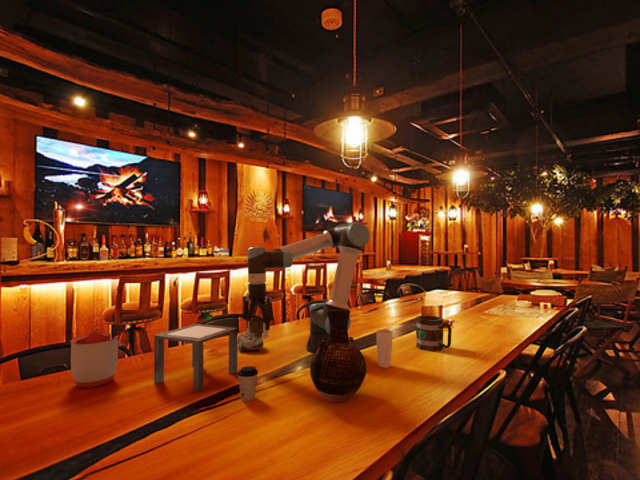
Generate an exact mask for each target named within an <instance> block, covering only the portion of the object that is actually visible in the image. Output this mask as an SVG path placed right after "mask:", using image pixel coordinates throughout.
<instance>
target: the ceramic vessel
mask: <svg viewBox="0 0 640 480" xmlns="http://www.w3.org/2000/svg"><path fill="white" fill-rule="evenodd" d="M350 315H351V310H350V309H349V310H342V311H341V310H333V311H332V310H329V311H327V316H328V319H329V324H330V338H329V339H328V340H327V341H325V340H322V342H321V344H320V348H319V349H318V350H317V351H316V353H314V354H313V357H312V359H311V362H310V366H309V373H310V378H311V381H312V384H313V385H314V387H315V389H316V391H317V392H318V394H320V396H322V397H323V398H324V399H325V400H327V401H328V402H331V403H342V402H345V401H347V400H349V399H352V398H353V396H355V394H356V393H357V392H358V390H359V389H360V388H361V386H362V385H363V383H364V380H365V378H366V374H367V363H366V359H365V356H364V355H363V353H362V351H361V350H360V348H359V347H358V346H357V345H356V344H354V341H355V340H354V337H353V336H349V332H348V331H349V329H348V328H347V326H348V320H349V318H350Z"/></svg>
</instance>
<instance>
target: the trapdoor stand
mask: <svg viewBox="0 0 640 480" xmlns="http://www.w3.org/2000/svg"><path fill="white" fill-rule="evenodd" d="M194 326H204V327H213V328H222V329H227V330H224V331H221V332H218V333H215V334H212V335H209V336H206V337H203V338H200V339H193V338H186V337H178V336H171V335H166V334H169V333H172V332H176V331H179V330H183V329H187V328H190V327H194ZM227 335H228V374H231V375H232V374H233V375H234V374H237V373H238V349H237V346H238V343H237V342H238V341H237V340H238V328H237V327H231V326H221V325H213V324H212V325H211V324H203V323H194V324H190V325H188V326H187V325H186V326H183V327H180V328H176V329H172V330H169V331H165V332H162V333H157V334H154V337H153V339H154V341H153V342H154V343H153V345H154V346H153V348H154V349H153V351H154V352H153V353H154V354H153V358H154V359H153V362H154V363H153V383H154V384H158V385H159V384H162V383H164V382H165V370H164V369H165V341H166V340H168V341H174V342H181V343H182V342H183V343H187V344H188V343H189V344H192V346H191V347H192V349H191V350H192V354H191V355H192V357H191V358H192V359H191V360H192V361H191V363H192V365H191V366H192V367H193V370H192V371H193V376H192V377H193V378H192V379H193V382H192V383H193V392H196V393H200V392H202V391H204V343H205V342H208V341H212V340H215V339H218V338H220V337H223V336H227Z"/></svg>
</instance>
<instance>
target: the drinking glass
mask: <svg viewBox="0 0 640 480" xmlns="http://www.w3.org/2000/svg"><path fill="white" fill-rule="evenodd" d="M375 337H376V350H377V363H378V364H377V365H378V367H380V368H383V369H387V368H390V367H392V366H391V365H392V363H391V361H392V349H393V331H392V330H390V329H377V330H376V336H375Z"/></svg>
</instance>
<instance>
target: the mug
mask: <svg viewBox="0 0 640 480" xmlns="http://www.w3.org/2000/svg"><path fill="white" fill-rule="evenodd" d="M415 323H416V328H415V334H416V335H415V337H416V342H415V343H416V345H415V347H416V348H417V349H419V350H421V351H426V352H441V351H443V350H444V349H448V348H450V347H451V344H452V332H453V331H452V327H451V325H450V324H448V323H444V318H443V317H440V316H437V315H418V316H416V317H415ZM445 327H446V328H447V330H448V331H447V344H444V328H445Z"/></svg>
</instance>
